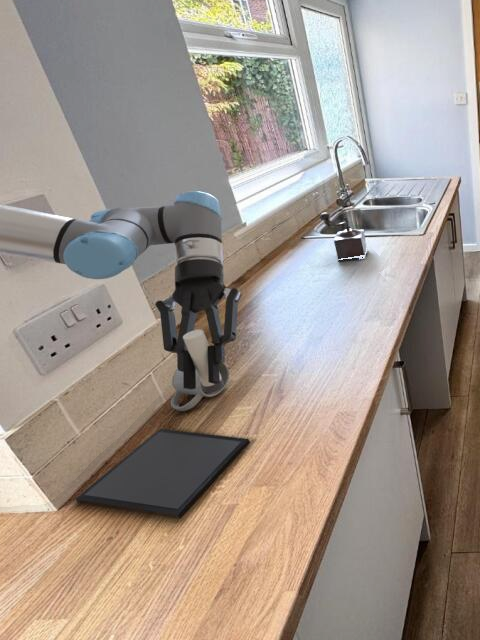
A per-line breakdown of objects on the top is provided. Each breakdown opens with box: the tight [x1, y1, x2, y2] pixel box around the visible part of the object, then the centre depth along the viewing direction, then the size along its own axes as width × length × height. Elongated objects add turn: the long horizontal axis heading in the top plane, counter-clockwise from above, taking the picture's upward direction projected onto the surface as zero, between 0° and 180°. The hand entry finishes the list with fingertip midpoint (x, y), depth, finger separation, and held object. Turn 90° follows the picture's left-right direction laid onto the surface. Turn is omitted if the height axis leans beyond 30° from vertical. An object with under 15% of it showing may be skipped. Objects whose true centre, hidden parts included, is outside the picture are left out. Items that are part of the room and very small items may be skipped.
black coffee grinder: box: [319, 212, 368, 263], centre depth 159 cm, size 16×11×18 cm
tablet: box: [75, 428, 250, 520], centre depth 73 cm, size 20×15×1 cm
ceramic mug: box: [170, 362, 230, 412], centre depth 89 cm, size 11×8×8 cm
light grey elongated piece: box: [183, 329, 224, 393], centre depth 74 cm, size 3×3×12 cm
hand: (202, 385), depth 72 cm, fingers closed on light grey elongated piece, 3 cm apart
